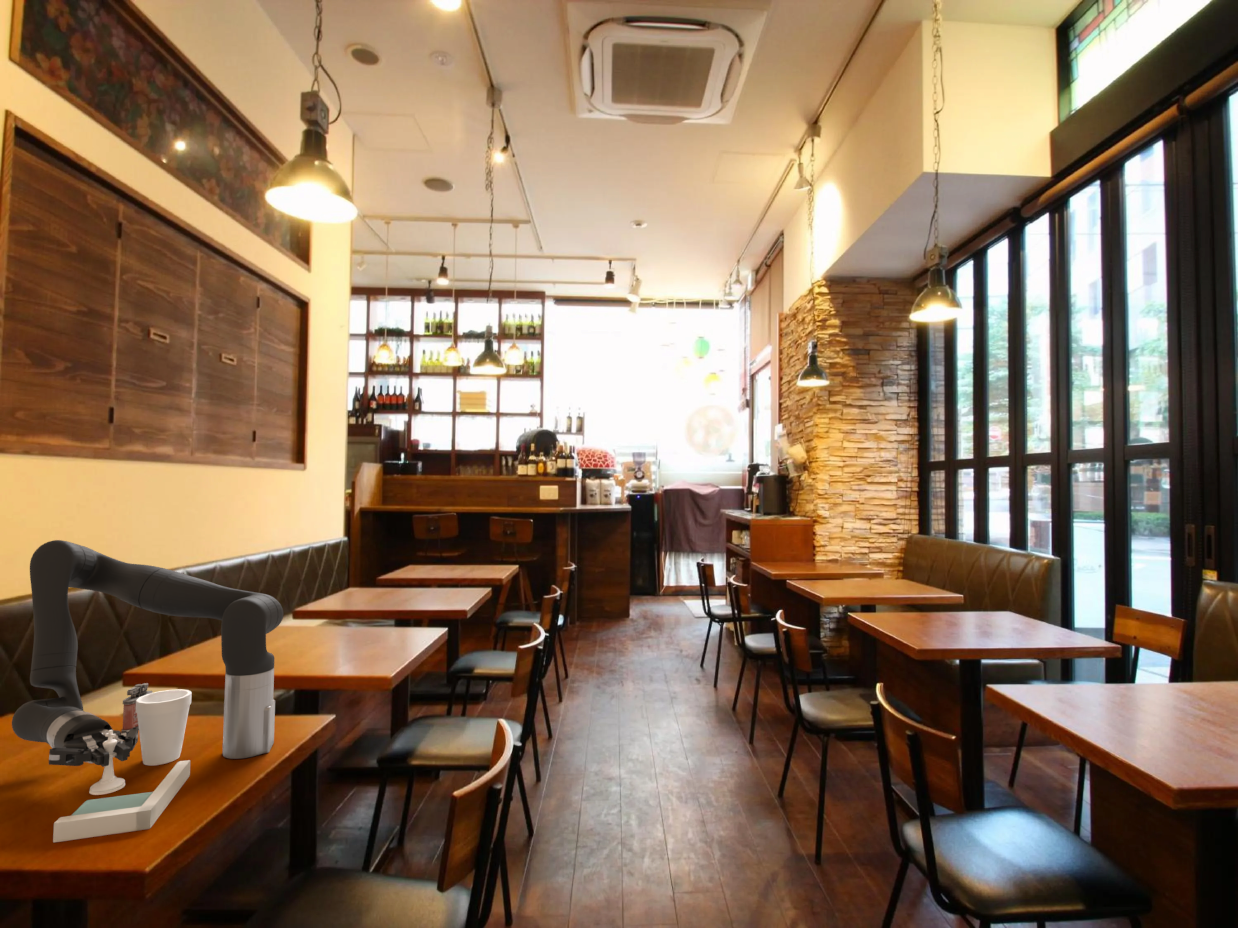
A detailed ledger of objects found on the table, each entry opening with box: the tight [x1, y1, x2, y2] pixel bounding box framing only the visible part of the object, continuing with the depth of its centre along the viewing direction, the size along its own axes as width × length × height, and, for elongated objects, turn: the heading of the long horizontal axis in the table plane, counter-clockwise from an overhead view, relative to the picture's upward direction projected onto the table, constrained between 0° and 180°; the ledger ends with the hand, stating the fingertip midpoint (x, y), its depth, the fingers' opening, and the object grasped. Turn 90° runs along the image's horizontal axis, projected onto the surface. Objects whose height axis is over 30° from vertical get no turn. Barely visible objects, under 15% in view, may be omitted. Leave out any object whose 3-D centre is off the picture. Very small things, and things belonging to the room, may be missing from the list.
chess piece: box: [88, 729, 126, 796], centre depth 110 cm, size 5×5×10 cm
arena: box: [52, 759, 191, 843], centre depth 112 cm, size 14×21×3 cm, turn 19°
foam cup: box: [136, 688, 192, 766], centre depth 132 cm, size 10×9×13 cm
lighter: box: [120, 682, 154, 733], centre depth 150 cm, size 8×3×10 cm, turn 5°
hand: (116, 757), depth 109 cm, fingers closed on chess piece
